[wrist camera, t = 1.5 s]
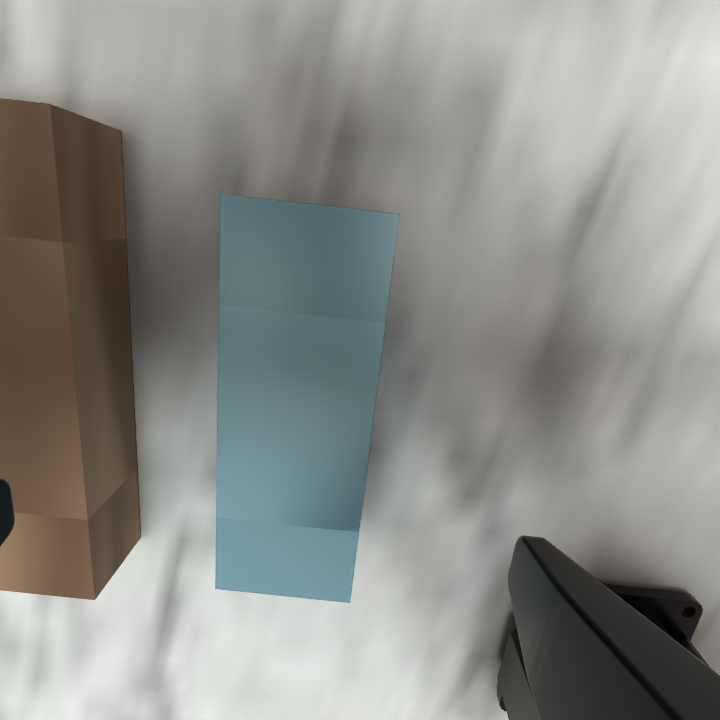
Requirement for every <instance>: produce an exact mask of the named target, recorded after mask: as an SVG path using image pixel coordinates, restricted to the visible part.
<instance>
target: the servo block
mask: <svg viewBox="0 0 720 720" xmlns="http://www.w3.org/2000/svg"><path fill="white" fill-rule="evenodd" d="M398 219H399V214H396V213H387V212H378V211H369V210H360V209H351V208H343V207H334V206H325V205H316V204H307V203H298V202H289V201H280V200H271V199H262V198H253V197H244V196H236V195H227V194H220V252H219V334H218V416H217V499H216V581H215V589H222V590H231V591H241V592H251V593H260V594H270V595H280V596H289V597H299V598H309V599H318V600H328V601H338V602H347V603H350V599H351V591H352V583H353V575H354V567H355V559H356V552H357V544H358V536H359V528H360V520H361V512H362V504H363V496H364V488H365V480H366V472H367V464H368V457H369V449H370V441H371V433H372V425H373V417H374V409H375V401H376V393H377V385H378V377H379V369H380V362H381V354H382V346H383V338H384V330H385V322H386V314H387V306H388V298H389V290H390V282H391V274H392V267H393V259H394V251H395V243H396V235H397V227H398Z"/></svg>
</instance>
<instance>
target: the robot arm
mask: <svg viewBox="0 0 720 720" xmlns="http://www.w3.org/2000/svg"><path fill="white" fill-rule="evenodd" d="M14 523H15V515H14V508H13V501H12V494H11V487H10V485H9V483H8V482H7V481H6V480H4V479H0V547H1V545H2V544H3V543H4V542H5V540H6V539H7V538H8V536H9V535H10V533H11V531H12V529H13V527H14ZM508 586H509V592H510V597H511V601H512V606H513V611H514V616H515V621H516V625H515V627H514V628H513V629H512V630H511V631H510V633H509V636H508V640H507V643H506V647H505V651H504V655H503V658H502V662H501V666H500V670H499V673H498V682H499V687H498V691H497V697H498V701H499V705H500V707H501V709H503V710H504V711H507V714H508V718H509V720H720V675H719V674H717V673H716V672H715V671H714V670H712V669H711V668H710V667H709V665H708V664H707V663H706V662H705V660H704V659H703V658H702V656H701V655H700V654H699V652H698V651H697V650H696V649H695V647H694V646H693V645H692V643H691V642H690V640H691V638H692V635H693V633H694V631H695V628H696V626H697V624H698V621H699V619H700V617H701V614H702V610H703V609H702V606H701V605H700V604H699V602H698V601H697V600H696V599H695V598H694V597H693V596H692V595H691V594H688V593H682V592H673V591H663V590H654V589H644V588H634V587H625V586H615V585H606V584H602V583H601V582H600V581H598V580H597V579H596V578H594V577H593V576H592V575H591V574H589V573H588V572H587V571H585V570H584V569H583V568H582V567H580V566H579V565H578V564H577V563H575V562H574V561H573V560H571V559H570V558H569V557H568V556H566V555H565V554H564V553H562V552H561V551H560V550H559V549H557V548H556V547H555V546H553V545H552V544H551V543H550V542H548V541H547V540H546V539H544V538H541V537H532V536H521V537H519V538H518V540H517V542H516V545H515V549H514V553H513V557H512V561H511V565H510V569H509V574H508Z"/></svg>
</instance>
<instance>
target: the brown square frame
mask: <svg viewBox="0 0 720 720" xmlns="http://www.w3.org/2000/svg"><path fill="white" fill-rule="evenodd" d="M0 479H4V480H6V481H7V482H8V483H9V485H10V487H11V494H12V501H13V508H14V515H15V523H14V527H13V529H12V531H11V533H10V535H9V536H8V538H7V539H6V540H5V542H4V543H3V544H2V545H1V547H0V590H3V591H13V592H22V593H32V594H42V595H52V596H61V597H71V598H81V599H90V600H95V599H96V598H97V596H98V595H99V594H100V592H101V591H102V589H103V588H104V587H105V585H106V584H107V583H108V581H109V580H110V579H111V577H112V576H113V575H114V573H115V572H116V570H117V569H118V568H119V566H120V565H121V564H122V562H123V561H124V560H125V558H126V557H127V555H128V554H129V553H130V551H131V550H132V549H133V547H134V546H135V545H136V543H137V542H138V541H139V539H140V538H141V536H140V516H139V495H138V475H137V454H136V433H135V413H134V392H133V372H132V351H131V331H130V310H129V290H128V269H127V249H126V228H125V208H124V187H123V167H122V146H121V131H120V130H117V129H115V128H112V127H109V126H107V125H104V124H101V123H99V122H96V121H94V120H91V119H88V118H86V117H83V116H80V115H78V114H75V113H72V112H70V111H67V110H64V109H62V108H59V107H57V106H54V105H51V104H45V103H36V102H27V101H19V100H10V99H1V98H0Z"/></svg>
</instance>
